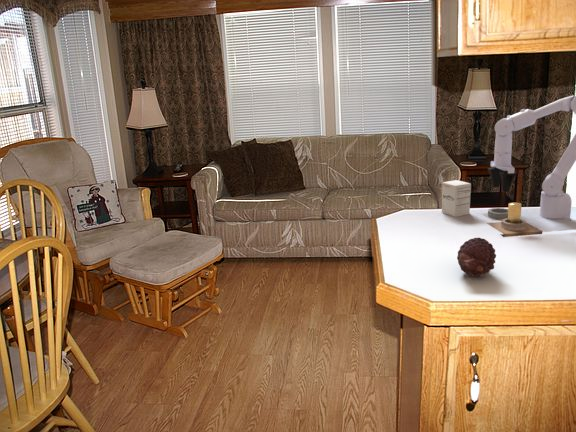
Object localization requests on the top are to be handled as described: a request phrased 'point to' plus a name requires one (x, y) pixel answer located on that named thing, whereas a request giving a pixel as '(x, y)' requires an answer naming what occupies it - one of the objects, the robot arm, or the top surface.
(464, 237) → the top surface
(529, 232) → the hub board
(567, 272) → the top surface
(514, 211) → the brass peg
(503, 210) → the spline stand
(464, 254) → the pine cone
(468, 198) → the supplement box
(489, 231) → the top surface
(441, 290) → the top surface
